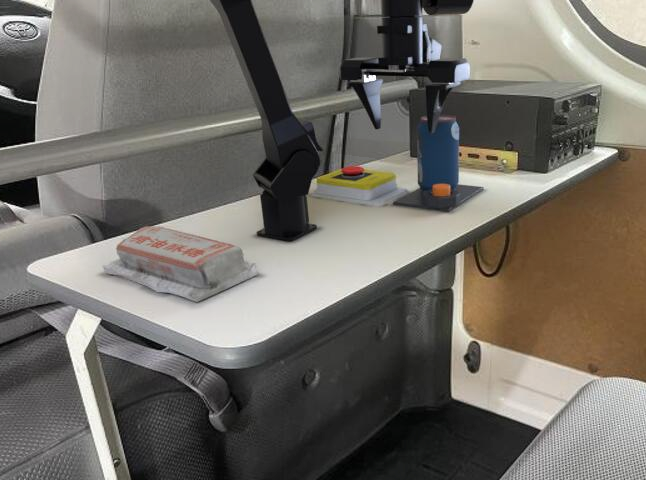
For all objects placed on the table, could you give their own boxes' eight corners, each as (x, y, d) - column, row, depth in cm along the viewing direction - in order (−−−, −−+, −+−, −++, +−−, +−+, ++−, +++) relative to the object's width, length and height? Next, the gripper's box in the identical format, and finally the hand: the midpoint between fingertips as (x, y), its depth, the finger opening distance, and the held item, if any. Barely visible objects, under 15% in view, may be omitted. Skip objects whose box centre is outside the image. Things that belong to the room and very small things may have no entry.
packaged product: (256, 238, 75) (189, 265, 68) (261, 275, 77) (197, 306, 70) (161, 216, 85) (94, 238, 77) (168, 250, 87) (103, 274, 79)
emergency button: (338, 159, 114) (409, 167, 107) (340, 183, 116) (409, 192, 108) (306, 170, 107) (379, 180, 100) (308, 196, 109) (380, 206, 101)
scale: (450, 213, 97) (450, 199, 96) (391, 205, 102) (391, 192, 101) (485, 190, 108) (485, 177, 107) (431, 184, 113) (431, 172, 112)
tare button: (445, 198, 98) (445, 188, 97) (429, 196, 99) (429, 187, 99) (453, 194, 100) (453, 184, 99) (437, 192, 101) (437, 182, 101)
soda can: (466, 188, 107) (468, 116, 102) (440, 197, 103) (440, 122, 98) (435, 182, 112) (435, 112, 107) (409, 190, 107) (407, 118, 102)
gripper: (486, 13, 90) (482, 125, 96) (374, 16, 98) (378, 119, 105) (453, 15, 81) (452, 138, 88) (334, 19, 90) (341, 130, 96)
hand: (404, 130), depth 94 cm, fingers open, 9 cm apart
